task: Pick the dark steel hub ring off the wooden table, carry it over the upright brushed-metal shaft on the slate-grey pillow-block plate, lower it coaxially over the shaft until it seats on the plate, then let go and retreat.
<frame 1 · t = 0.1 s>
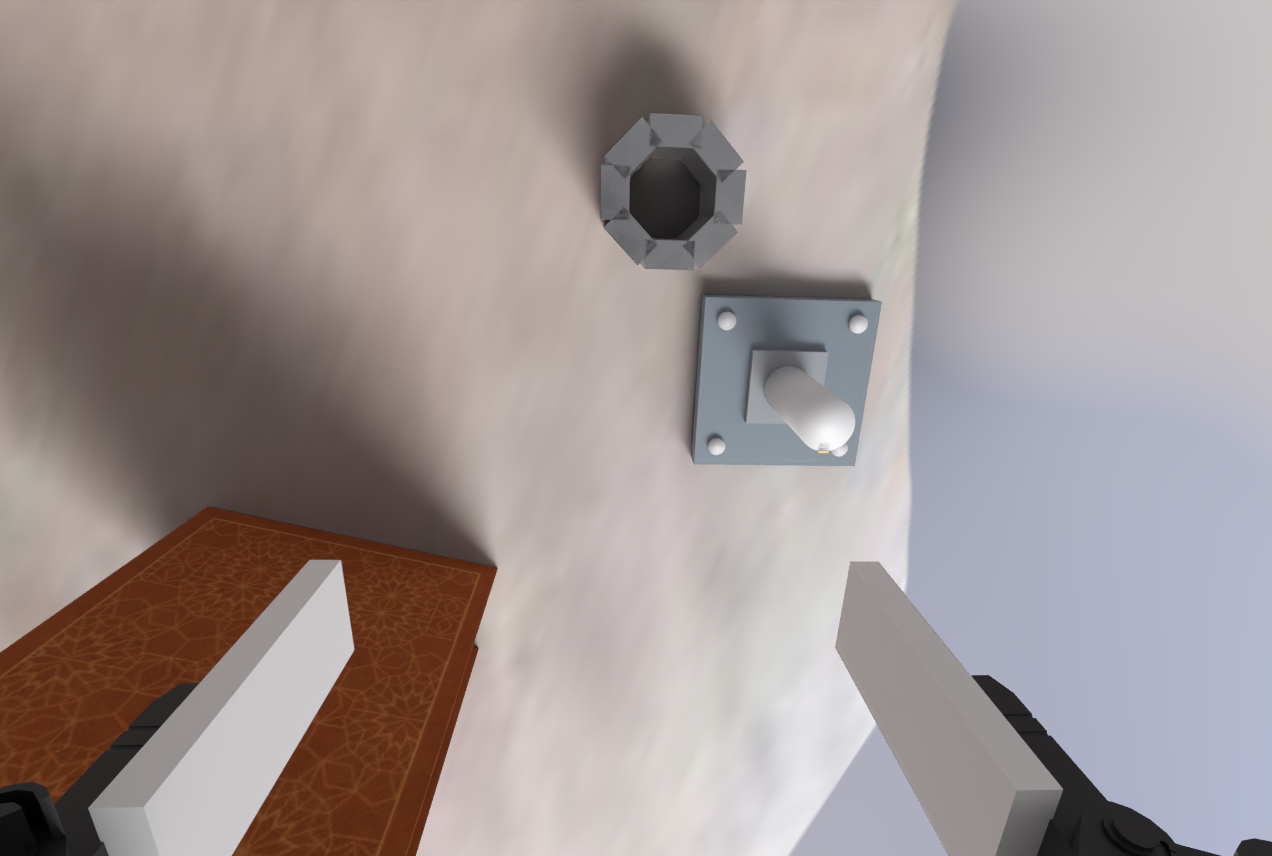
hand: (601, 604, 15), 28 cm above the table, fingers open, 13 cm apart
book: (344, 579, 46), on the table
hub: (662, 199, 38), on the table
shaft block: (778, 380, 43), on the table
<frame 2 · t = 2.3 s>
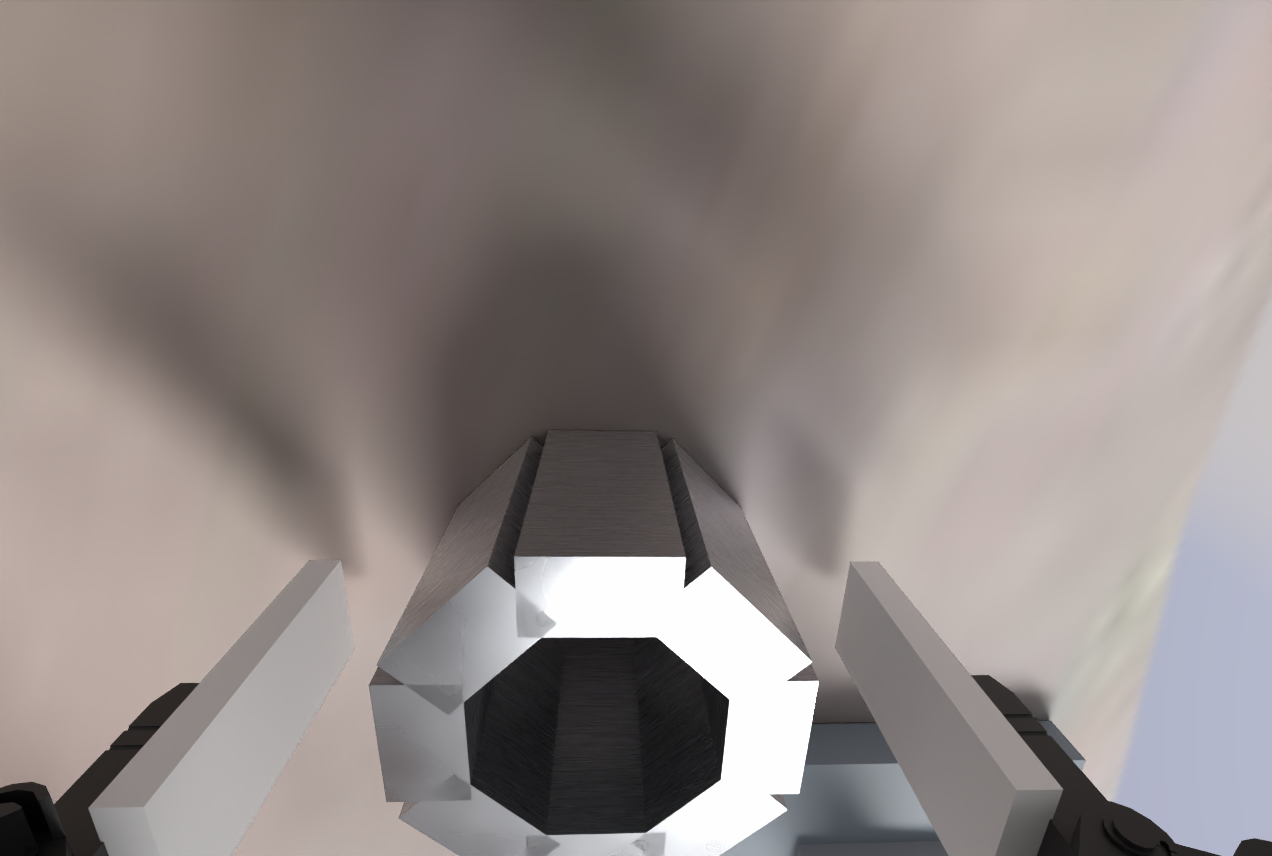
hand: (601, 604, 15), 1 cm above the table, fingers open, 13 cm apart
hub: (600, 563, 17), on the table
shaft block: (846, 851, 21), on the table
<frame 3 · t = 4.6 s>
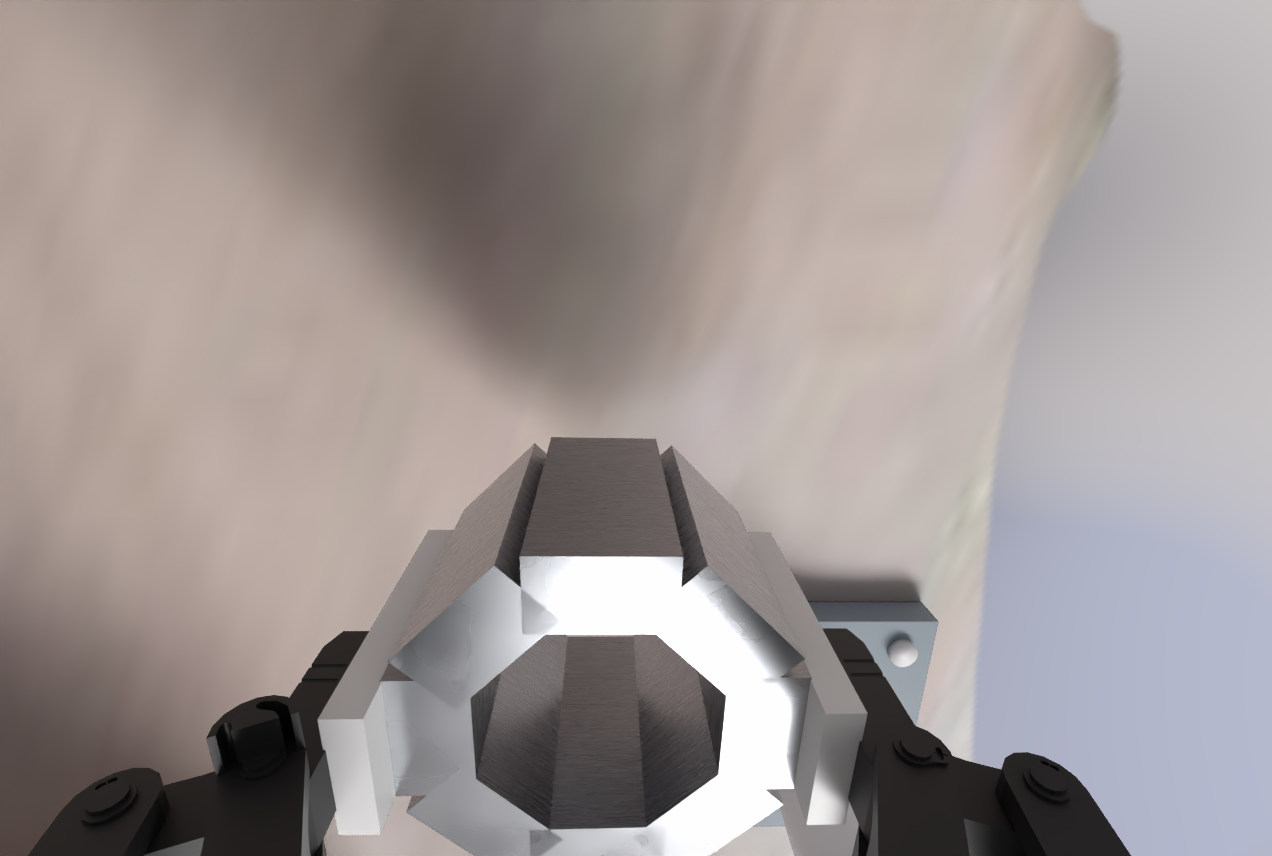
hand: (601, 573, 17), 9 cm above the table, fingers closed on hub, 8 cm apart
hub: (601, 567, 17), point 8 cm above the table, touching gripper
shaft block: (782, 706, 29), on the table
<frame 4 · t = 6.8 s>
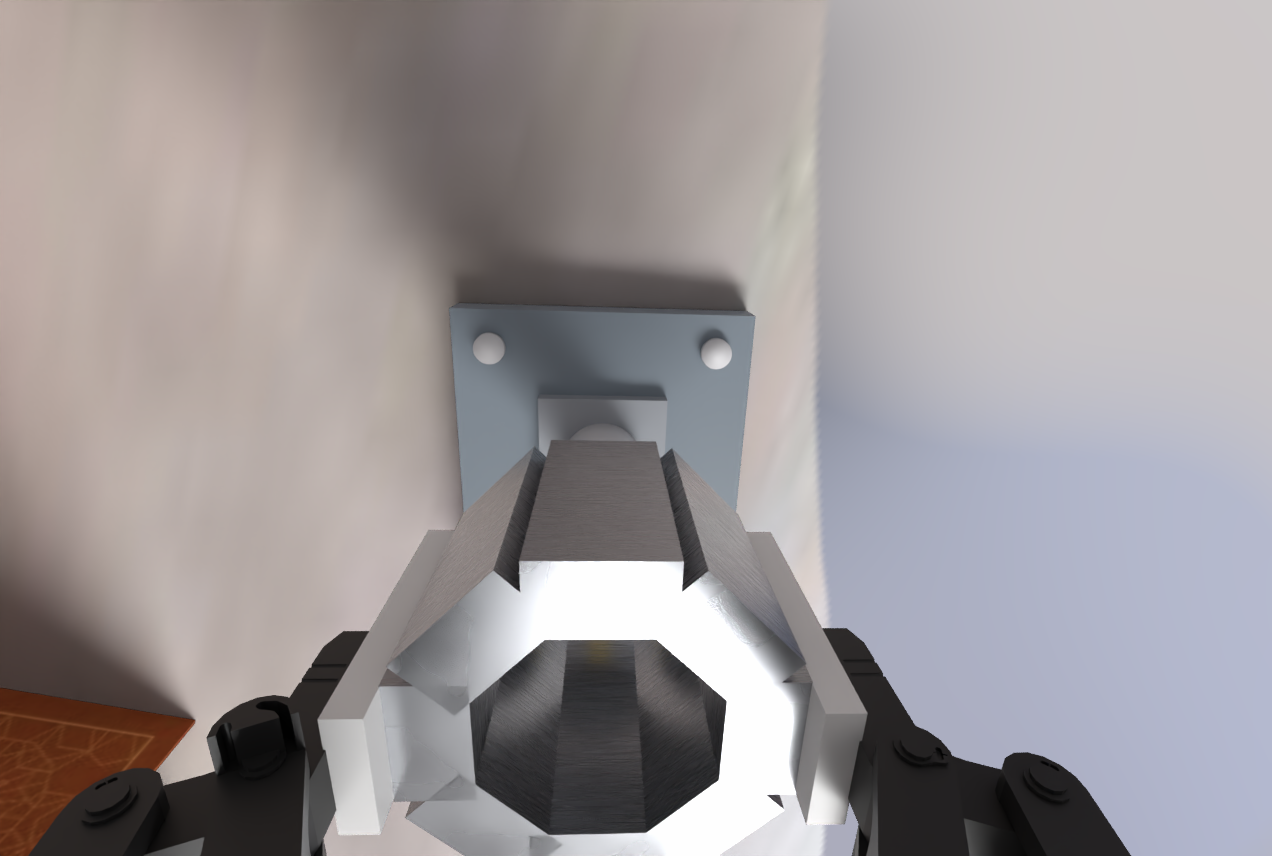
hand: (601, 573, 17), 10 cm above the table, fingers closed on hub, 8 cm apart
hub: (601, 570, 17), point 10 cm above the table, touching gripper
shaft block: (602, 441, 26), on the table
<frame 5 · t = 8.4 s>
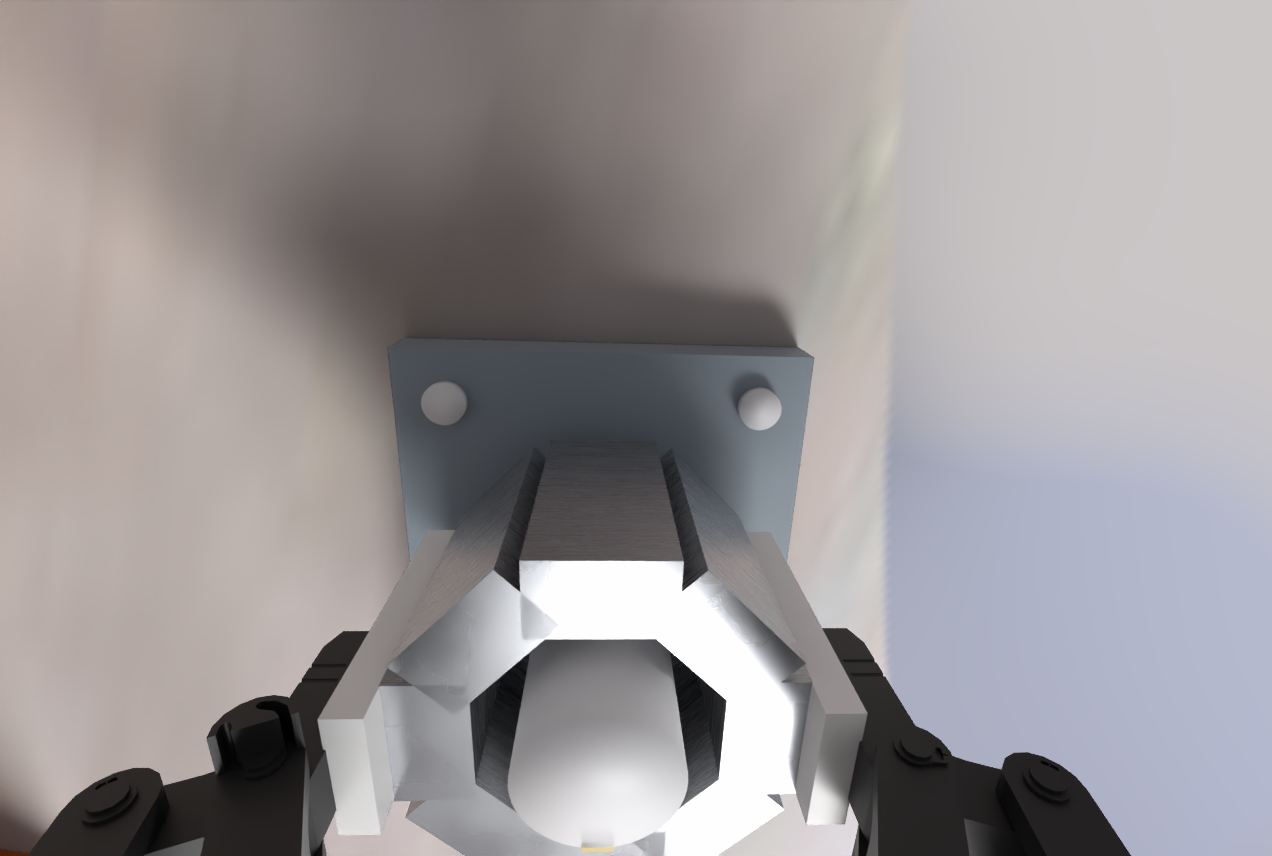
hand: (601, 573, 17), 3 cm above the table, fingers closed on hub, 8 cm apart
hub: (601, 570, 17), point 3 cm above the table, touching gripper
shaft block: (602, 518, 20), on the table
when the fingers open (3 cm above the table, at t = 9.5 s): hub stays where it is, resting on shaft block.
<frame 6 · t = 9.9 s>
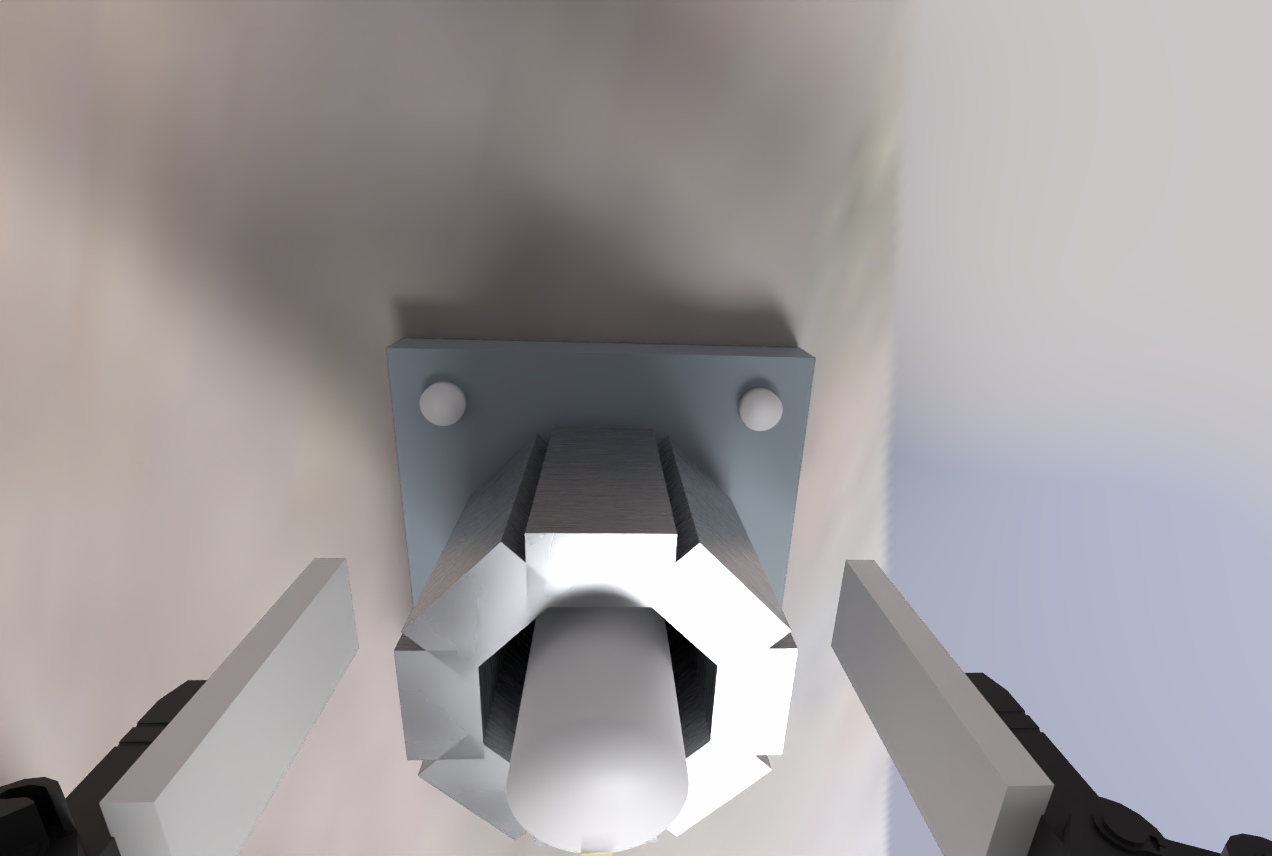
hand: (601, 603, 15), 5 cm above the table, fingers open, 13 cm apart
hub: (601, 552, 18), point 2 cm above the table, touching shaft block
shaft block: (602, 519, 20), on the table
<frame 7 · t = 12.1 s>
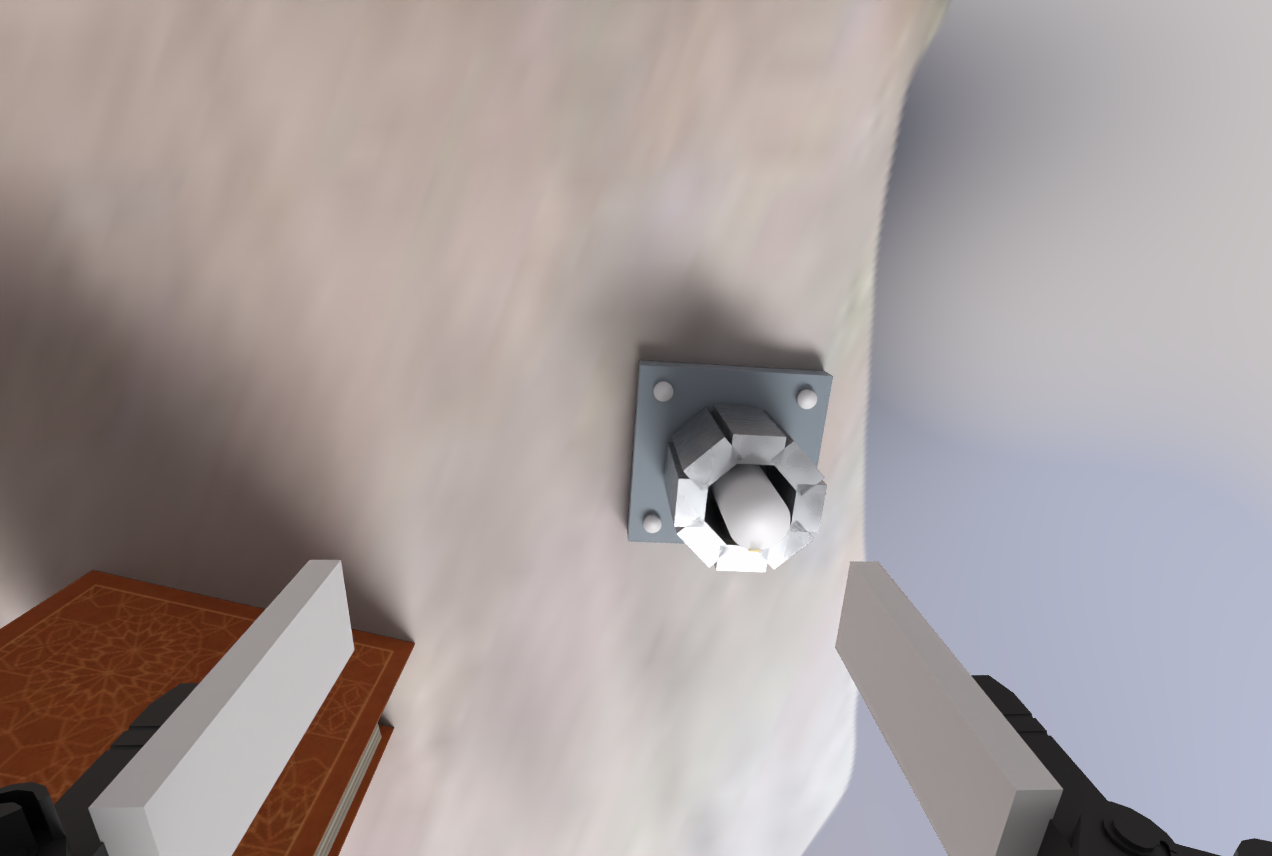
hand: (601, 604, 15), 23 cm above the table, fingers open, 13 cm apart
book: (246, 651, 42), on the table
hub: (728, 465, 37), point 2 cm above the table, touching shaft block
shaft block: (722, 453, 39), on the table
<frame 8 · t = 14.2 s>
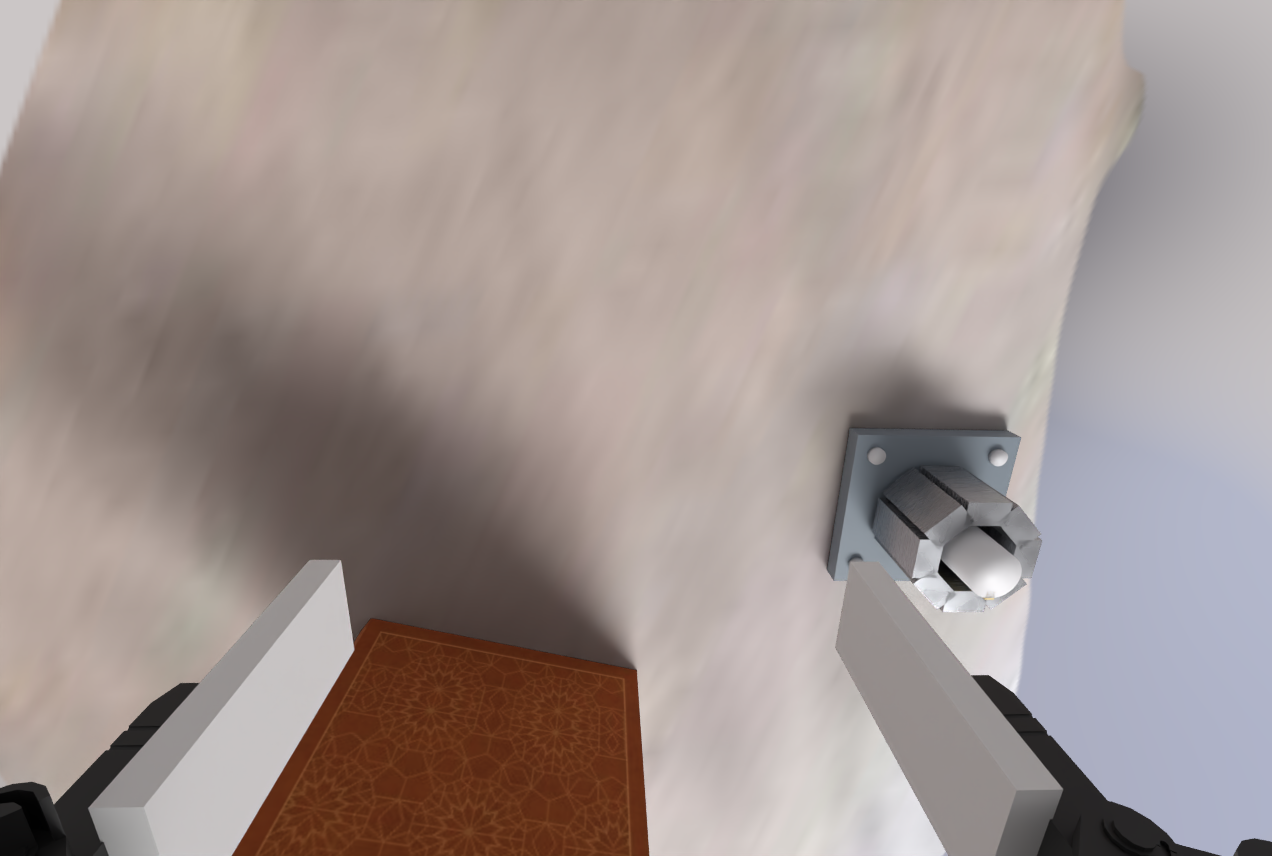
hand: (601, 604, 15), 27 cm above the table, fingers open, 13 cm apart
book: (492, 681, 49), on the table
hub: (928, 515, 43), point 2 cm above the table, touching shaft block
shaft block: (914, 502, 45), on the table
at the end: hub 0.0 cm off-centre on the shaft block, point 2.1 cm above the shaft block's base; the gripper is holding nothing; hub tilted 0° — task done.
